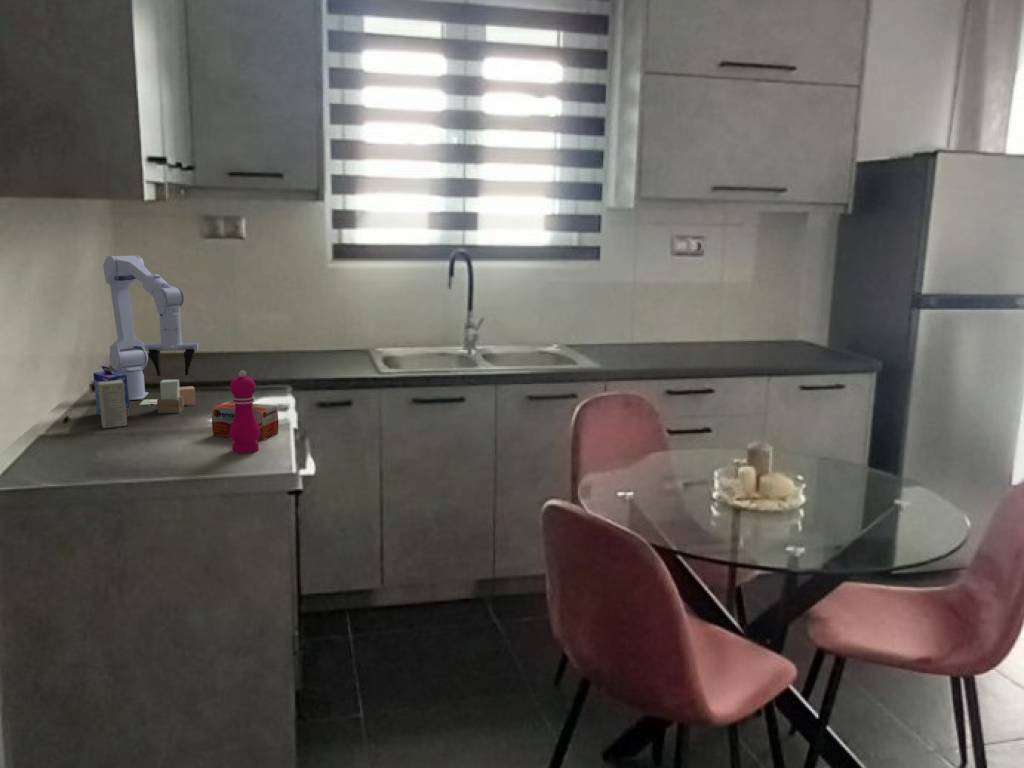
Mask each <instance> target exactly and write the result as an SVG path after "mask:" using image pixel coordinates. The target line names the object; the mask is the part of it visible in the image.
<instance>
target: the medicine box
mask: <svg viewBox="0 0 1024 768" xmlns="http://www.w3.org/2000/svg"><path fill="white" fill-rule="evenodd" d="M252 408H253V414H254V417H255V419H256V421H257V423H258V425H259V428H260V436H259V438H258V439H257V440H256V441H260V440H261V441H264V440H266V439H268V438H269V437H272V435H273V436H275V435H278V434H279V411H278V406H277V405H271V404H261V403H253V405H252ZM234 415H235V403H233V401H226V402H223V403H220V404H217V405H214V406H212V407H211V425H212V426H211V429H212V434H213V436H214V437H221V436H222V437H223V438H230V427H231V424H232V422H233V419H234ZM277 433H278V434H277ZM274 434H275V435H274ZM265 438H266V439H265Z"/></svg>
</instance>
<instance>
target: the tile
mask: <svg viewBox="0 0 1024 768" xmlns="http://www.w3.org/2000/svg"><path fill="white" fill-rule="evenodd" d="M158 399H159V398H158ZM158 399H157V398H155V399H154V398H152V399H151V398H150V399H145V398H144V399H142V400H141V402H140V403H139V406H157V400H158ZM151 404H153V405H151Z"/></svg>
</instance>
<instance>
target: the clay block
mask: <svg viewBox="0 0 1024 768" xmlns="http://www.w3.org/2000/svg"><path fill="white" fill-rule="evenodd" d="M179 389H180V396H184V405H186V406H196V403H197V402H196V401H197V400H196V388H195V387H194V386H192V385H191V386H190V385H189V386H179Z"/></svg>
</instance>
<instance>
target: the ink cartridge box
mask: <svg viewBox="0 0 1024 768" xmlns="http://www.w3.org/2000/svg"><path fill="white" fill-rule="evenodd" d="M101 368H102V369H103V371H97V372H96V371H95V372H92V375H93V383H94V392H95V393H94V394H95V403H96V413H97V415H99V416H101V410H100V400H99V389H98V382H102V381H113V380H122V381H123V383H124V394H125V405H126V416H127V418H128V417H131V407H130V400H129V394H128V385H127V375H125V374H121V373H117V371H115V370H111V369H110V368H109V367H108V366H105V365H101Z"/></svg>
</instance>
